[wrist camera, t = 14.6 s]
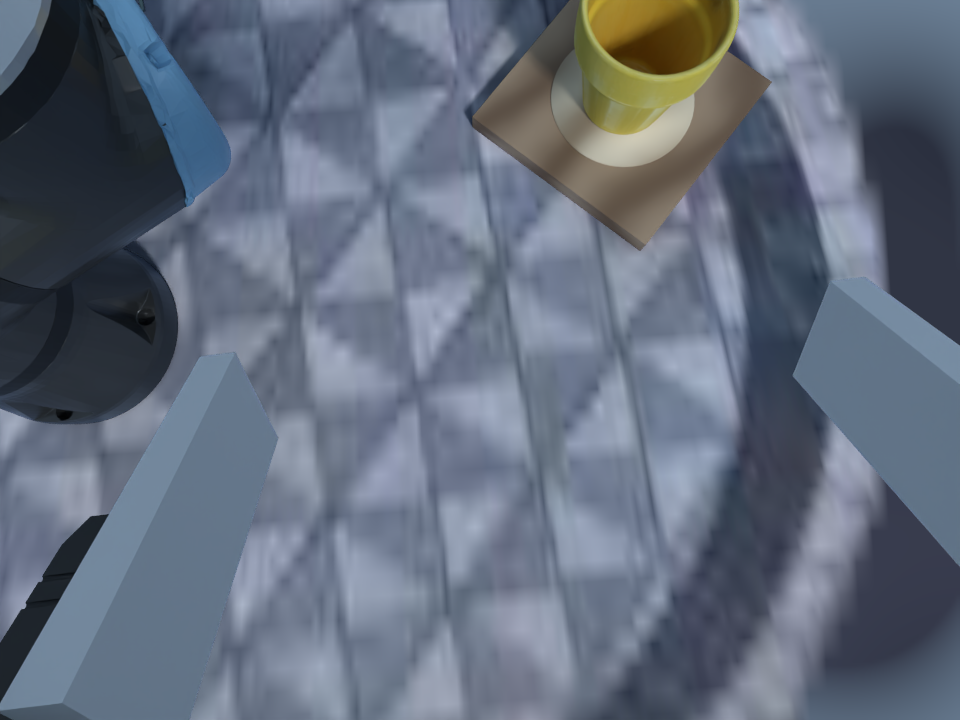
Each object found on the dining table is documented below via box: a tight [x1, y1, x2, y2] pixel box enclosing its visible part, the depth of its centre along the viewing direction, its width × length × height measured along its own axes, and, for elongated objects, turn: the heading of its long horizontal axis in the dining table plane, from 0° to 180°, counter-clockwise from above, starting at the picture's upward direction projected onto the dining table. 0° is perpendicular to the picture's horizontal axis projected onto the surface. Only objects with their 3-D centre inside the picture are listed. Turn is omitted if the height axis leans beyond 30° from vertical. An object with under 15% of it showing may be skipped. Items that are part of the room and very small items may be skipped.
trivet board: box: [472, 0, 771, 250], centre depth 43 cm, size 18×18×2 cm
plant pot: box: [574, 0, 739, 135], centre depth 37 cm, size 10×10×10 cm
